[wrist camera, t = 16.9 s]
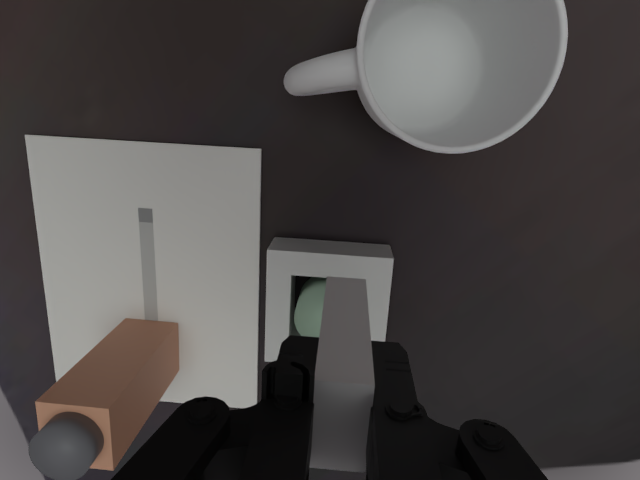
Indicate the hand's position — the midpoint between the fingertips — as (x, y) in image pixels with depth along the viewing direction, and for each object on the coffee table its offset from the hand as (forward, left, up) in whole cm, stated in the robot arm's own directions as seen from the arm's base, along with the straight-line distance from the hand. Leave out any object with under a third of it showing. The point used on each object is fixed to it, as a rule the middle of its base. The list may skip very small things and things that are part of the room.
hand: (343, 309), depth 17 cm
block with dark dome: (+10, -14, -13) cm, 22 cm away
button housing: (+5, -1, -14) cm, 15 cm away
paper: (+5, -14, -14) cm, 20 cm away
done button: (+5, -1, -13) cm, 14 cm away
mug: (-10, +2, -14) cm, 17 cm away
